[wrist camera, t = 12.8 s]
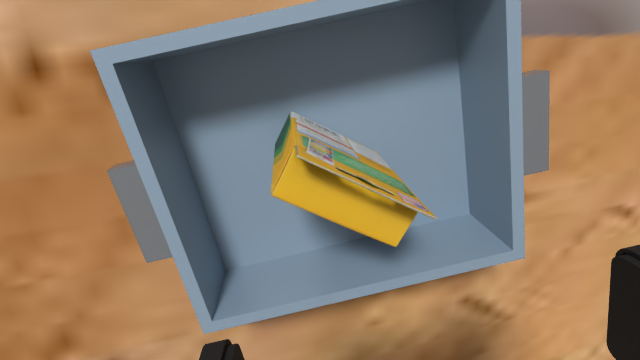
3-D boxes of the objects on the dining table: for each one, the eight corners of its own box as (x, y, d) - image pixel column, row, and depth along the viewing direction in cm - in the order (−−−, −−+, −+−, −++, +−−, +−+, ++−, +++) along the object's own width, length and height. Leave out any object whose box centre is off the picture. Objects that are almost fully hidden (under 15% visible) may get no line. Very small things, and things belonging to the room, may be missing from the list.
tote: (480, -23, 25) (550, -51, 18) (491, 210, 31) (547, 252, 24) (119, 57, 24) (58, 57, 18) (202, 278, 30) (180, 339, 24)
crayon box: (273, 146, 26) (265, 211, 15) (290, 109, 26) (295, 149, 15) (359, 186, 28) (408, 270, 17) (378, 152, 27) (441, 217, 16)
